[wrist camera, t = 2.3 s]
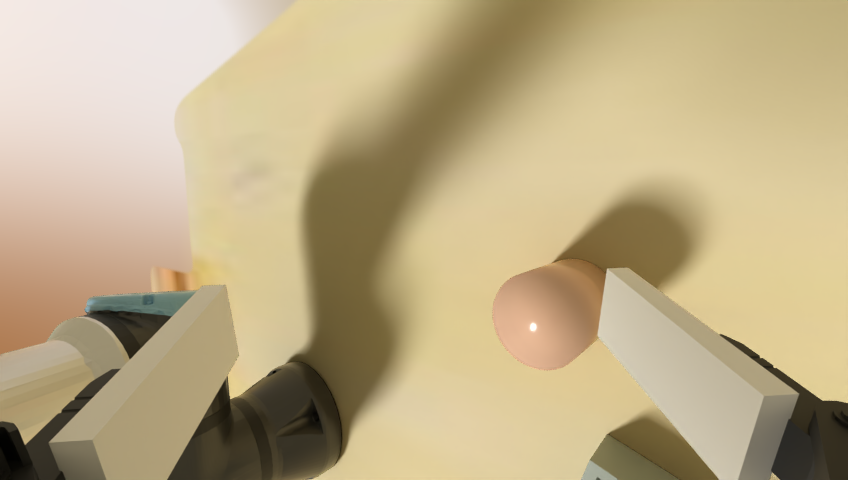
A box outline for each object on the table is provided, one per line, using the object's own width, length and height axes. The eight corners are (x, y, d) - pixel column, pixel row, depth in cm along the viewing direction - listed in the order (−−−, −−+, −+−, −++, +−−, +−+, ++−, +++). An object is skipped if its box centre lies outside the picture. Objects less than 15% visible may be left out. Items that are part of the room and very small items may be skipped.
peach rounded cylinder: (600, 355, 32) (565, 389, 26) (526, 316, 35) (482, 339, 30) (631, 279, 30) (601, 299, 24) (549, 246, 33) (507, 257, 28)
